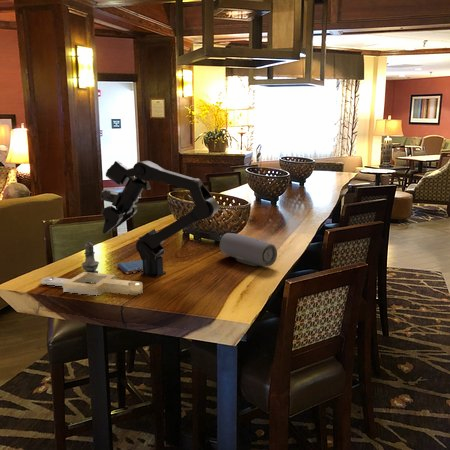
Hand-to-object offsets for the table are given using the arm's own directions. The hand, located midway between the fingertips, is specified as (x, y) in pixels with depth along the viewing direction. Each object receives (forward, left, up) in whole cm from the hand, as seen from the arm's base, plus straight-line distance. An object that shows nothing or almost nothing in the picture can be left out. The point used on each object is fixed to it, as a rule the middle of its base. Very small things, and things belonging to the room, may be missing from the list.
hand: (109, 230), depth 170 cm
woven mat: (-5, -7, -16) cm, 18 cm away
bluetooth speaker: (-37, -34, -15) cm, 52 cm away
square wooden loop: (-12, +14, -15) cm, 24 cm away
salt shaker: (+5, +5, -15) cm, 17 cm away
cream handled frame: (0, +17, -15) cm, 23 cm away
